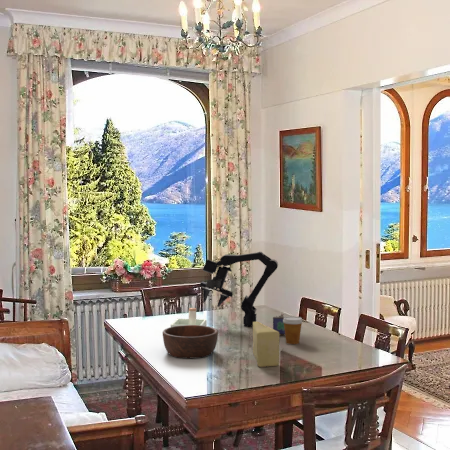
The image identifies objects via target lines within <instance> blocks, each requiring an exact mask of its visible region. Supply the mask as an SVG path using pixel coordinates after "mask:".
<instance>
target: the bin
mask: <svg viewBox="0 0 450 450" xmlns="http://www.w3.org/2000/svg"><path fill="white" fill-rule="evenodd" d="M207 323H208V322H207V319H206V318H205V319H204V318H201V319H200V318H199V319H198V318H196V325H202V326H207ZM181 325H189V318H176V319H175V320H174V321H173V322H172V323H171V324H170V327H174V326H181Z"/></svg>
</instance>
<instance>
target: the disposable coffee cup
mask: <svg viewBox="0 0 450 450" xmlns="http://www.w3.org/2000/svg"><path fill="white" fill-rule="evenodd" d="M303 321H304V320H303V318H302V317H301V316H295V315H293V316H292V315H290V316H284V319H283V322H284V329H285V335H284V336H285V343H286V344H287V345H288V344H289V345H298V344H300V338H301V332H302V324H303Z"/></svg>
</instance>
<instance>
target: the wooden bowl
mask: <svg viewBox="0 0 450 450" xmlns="http://www.w3.org/2000/svg"><path fill="white" fill-rule="evenodd" d="M162 338H163V344H164V348H165V351H166V352H167V353H168V354H169V355H170V356H171V357H175V358H180V359H198V358H199V359H201V358H205V357H206V358H207V357H209V356H211V354H213V353H214V351H215V349H216V346H217V342H218V338H219V330H218V329H217V328H215V327H211V326H202V325H181V326H174V327H171V326H170V327H167V328H165V329H163V330H162Z"/></svg>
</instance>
